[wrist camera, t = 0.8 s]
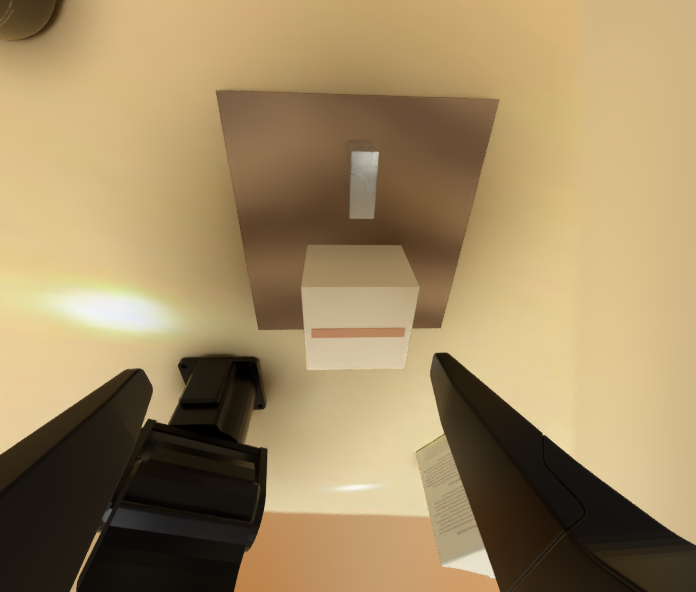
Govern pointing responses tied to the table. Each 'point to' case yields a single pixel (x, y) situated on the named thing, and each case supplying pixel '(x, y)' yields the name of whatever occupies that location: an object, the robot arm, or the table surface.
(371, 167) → the upright wooden block
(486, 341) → the table surface
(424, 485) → the small box
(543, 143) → the table surface
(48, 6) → the supplement bottle
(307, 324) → the white carton
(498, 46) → the table surface
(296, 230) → the base plate
